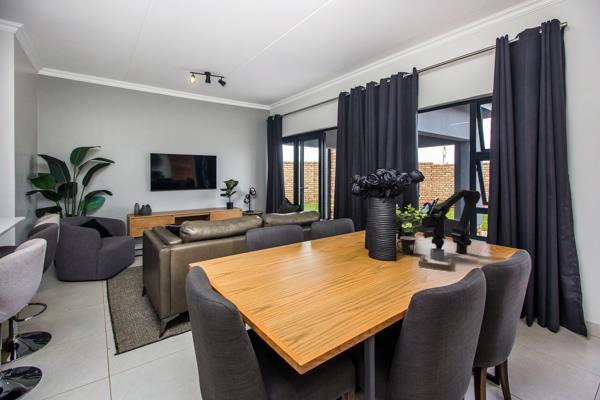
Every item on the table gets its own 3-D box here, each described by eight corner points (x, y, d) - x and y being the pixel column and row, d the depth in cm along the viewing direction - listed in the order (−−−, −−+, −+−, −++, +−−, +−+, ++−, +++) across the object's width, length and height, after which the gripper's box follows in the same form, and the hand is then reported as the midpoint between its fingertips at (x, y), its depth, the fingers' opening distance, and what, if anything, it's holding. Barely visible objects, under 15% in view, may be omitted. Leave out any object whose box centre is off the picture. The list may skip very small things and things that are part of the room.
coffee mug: (412, 252, 178) (413, 236, 177) (417, 256, 169) (417, 239, 168) (393, 252, 179) (393, 236, 178) (396, 255, 170) (397, 239, 169)
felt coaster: (451, 257, 166) (451, 256, 166) (467, 259, 162) (467, 258, 162) (451, 261, 159) (451, 259, 159) (467, 263, 155) (467, 261, 155)
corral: (421, 259, 162) (422, 254, 162) (451, 263, 155) (452, 258, 154) (418, 267, 149) (418, 261, 149) (450, 271, 142) (451, 266, 142)
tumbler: (430, 257, 166) (431, 247, 166) (444, 259, 163) (444, 249, 162) (429, 260, 160) (430, 250, 160) (443, 262, 157) (444, 252, 156)
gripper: (426, 223, 179) (425, 247, 181) (422, 228, 163) (421, 255, 165) (445, 224, 174) (444, 250, 175) (444, 230, 158) (443, 257, 159)
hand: (438, 252), depth 169 cm, fingers closed
